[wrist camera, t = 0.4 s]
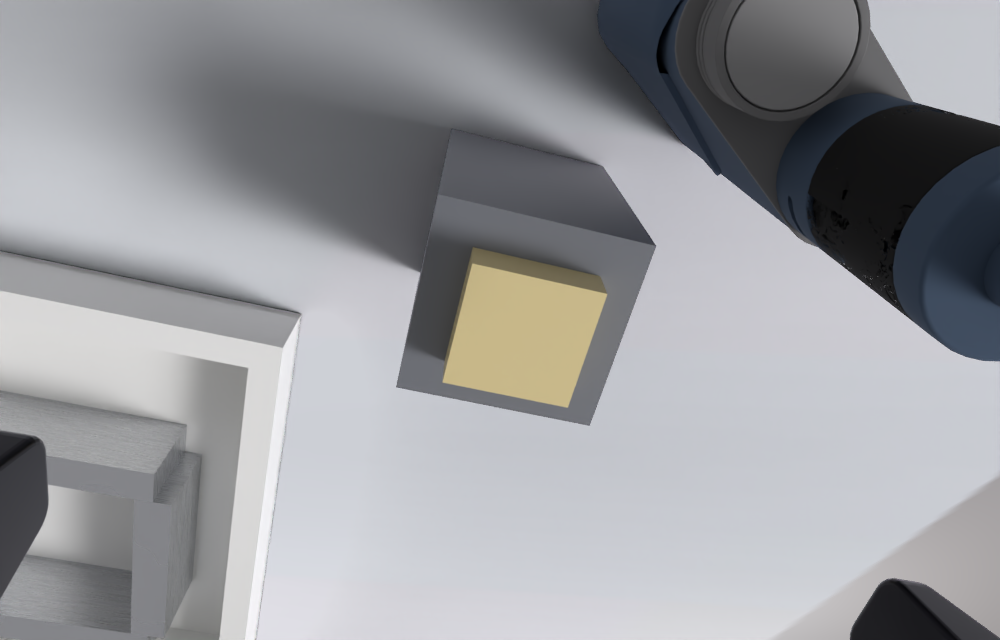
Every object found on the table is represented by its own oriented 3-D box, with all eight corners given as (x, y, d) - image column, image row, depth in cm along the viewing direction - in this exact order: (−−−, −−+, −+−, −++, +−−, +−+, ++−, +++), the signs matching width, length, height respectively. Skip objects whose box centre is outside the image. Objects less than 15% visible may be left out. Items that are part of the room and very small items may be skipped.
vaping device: (697, 172, 18) (1025, 462, 7) (571, 5, 16) (755, 48, 5) (783, 104, 17) (1296, 310, 6) (661, -79, 15) (1091, -228, 5)
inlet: (190, 600, 24) (162, 659, 22) (-39, 565, 23) (-92, 624, 21) (204, 427, 21) (173, 477, 18) (-62, 378, 20) (-126, 425, 18)
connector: (559, 303, 19) (595, 449, 13) (420, 272, 19) (391, 410, 13) (602, 166, 18) (666, 262, 12) (451, 128, 17) (435, 207, 11)
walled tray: (254, 648, 25) (237, 698, 23) (-99, 596, 24) (-147, 646, 22) (301, 313, 19) (283, 347, 18) (-166, 216, 18) (-238, 242, 16)
